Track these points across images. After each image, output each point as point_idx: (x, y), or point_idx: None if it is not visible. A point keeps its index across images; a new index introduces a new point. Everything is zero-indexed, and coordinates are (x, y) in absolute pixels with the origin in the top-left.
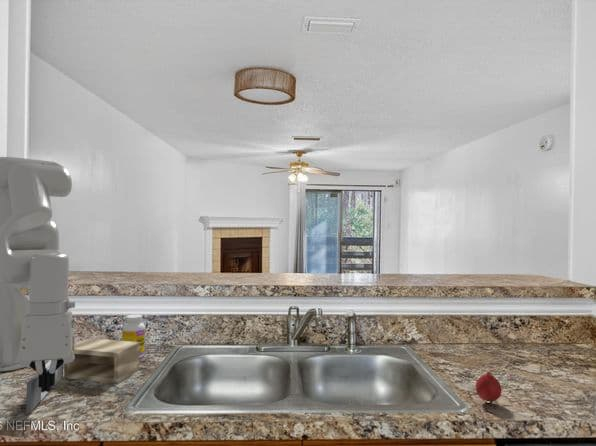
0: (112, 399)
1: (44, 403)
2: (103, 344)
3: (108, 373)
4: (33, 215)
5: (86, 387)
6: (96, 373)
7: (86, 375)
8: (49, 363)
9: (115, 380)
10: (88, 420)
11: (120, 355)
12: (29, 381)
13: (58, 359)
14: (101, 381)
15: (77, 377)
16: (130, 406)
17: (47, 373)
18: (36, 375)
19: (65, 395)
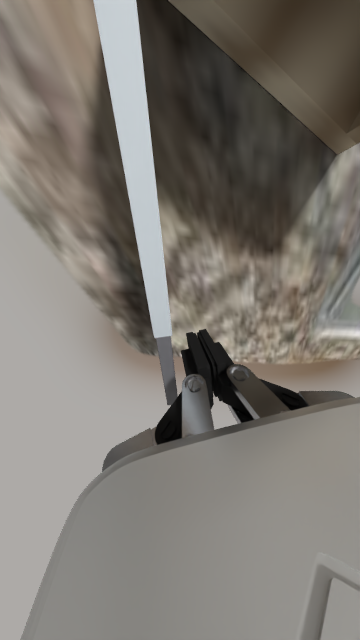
0: (301, 281)
1: (170, 288)
2: None
3: (347, 27)
4: None
5: (248, 178)
6: (300, 3)
7: (255, 38)
8: (144, 174)
9: (342, 143)
10: (259, 354)
11: None
12: (168, 396)
13: (279, 408)
14: (295, 115)
15: (208, 21)
16: (322, 314)
17: (216, 390)
18: (165, 357)
19: (203, 242)
